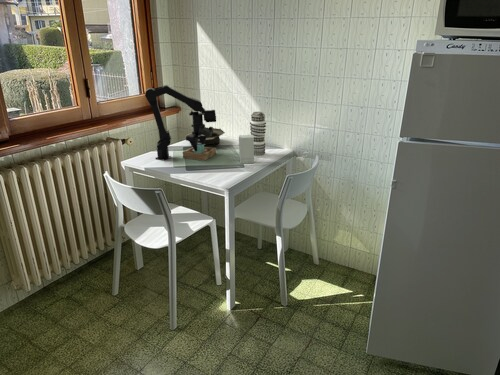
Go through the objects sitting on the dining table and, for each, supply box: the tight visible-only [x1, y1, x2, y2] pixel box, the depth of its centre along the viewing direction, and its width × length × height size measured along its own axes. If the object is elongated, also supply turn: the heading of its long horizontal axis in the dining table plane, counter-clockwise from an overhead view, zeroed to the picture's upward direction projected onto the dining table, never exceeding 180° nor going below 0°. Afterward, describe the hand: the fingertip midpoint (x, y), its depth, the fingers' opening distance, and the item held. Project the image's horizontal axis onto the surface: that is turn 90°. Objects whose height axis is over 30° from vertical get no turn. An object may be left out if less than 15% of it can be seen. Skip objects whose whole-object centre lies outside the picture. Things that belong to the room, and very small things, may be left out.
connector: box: [195, 143, 205, 154], centre depth 223 cm, size 4×4×7 cm
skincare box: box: [238, 134, 255, 164], centre depth 211 cm, size 8×6×15 cm
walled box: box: [182, 146, 217, 162], centre depth 224 cm, size 14×14×4 cm
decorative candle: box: [249, 111, 267, 158], centre depth 220 cm, size 9×9×25 cm
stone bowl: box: [184, 127, 226, 147], centre depth 245 cm, size 25×25×9 cm
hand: (199, 149), depth 223 cm, fingers open, 7 cm apart
